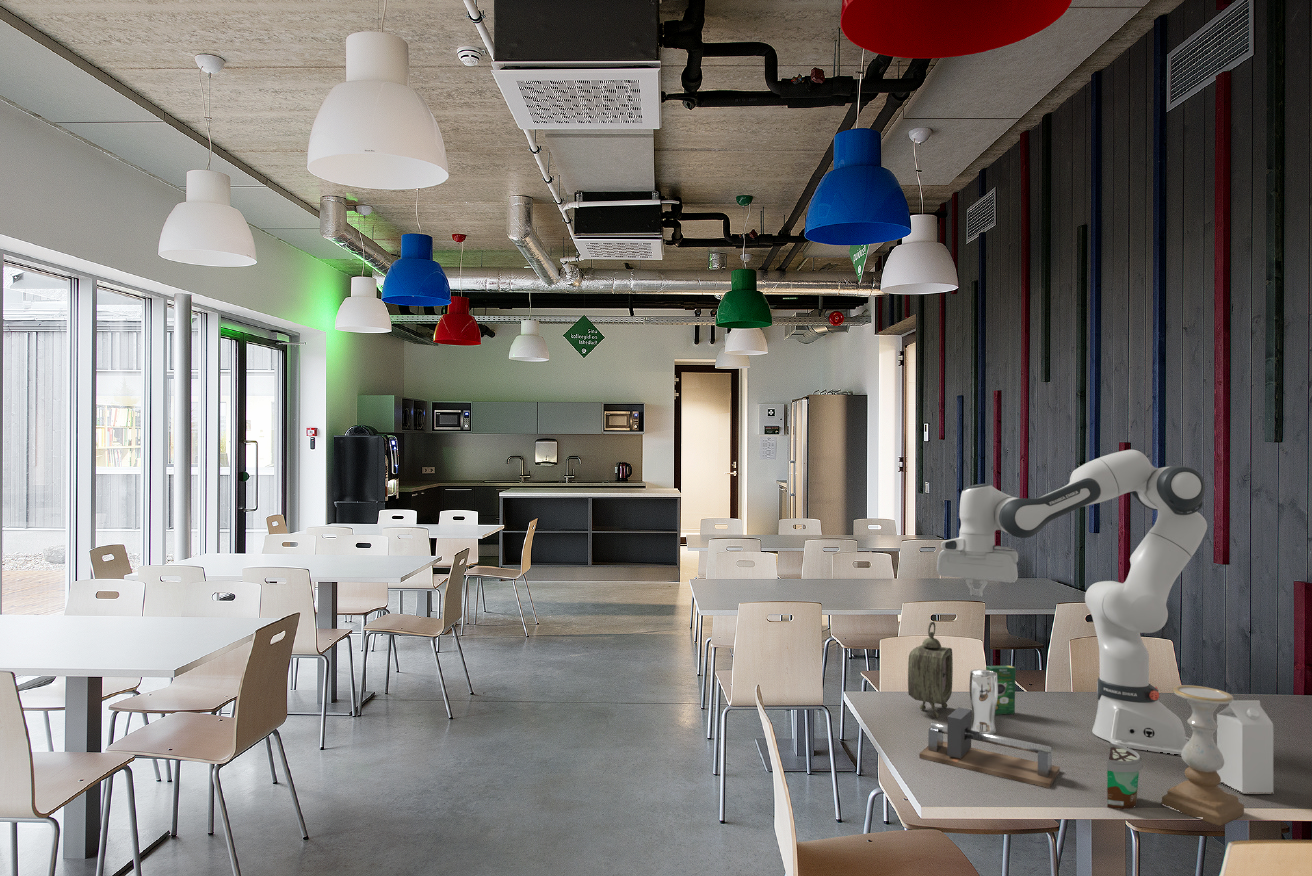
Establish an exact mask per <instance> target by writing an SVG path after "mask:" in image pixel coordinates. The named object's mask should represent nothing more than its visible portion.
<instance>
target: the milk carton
mask: <svg viewBox="0 0 1312 876" xmlns="http://www.w3.org/2000/svg"><path fill="white" fill-rule="evenodd" d="M1216 723H1217V725H1218V728H1216V746H1217V747H1218V749H1219V750H1220V752H1221V753H1222V755H1223V758H1224V766H1223V767H1222V768H1221V769H1220V770H1218V771H1216V772H1217V773H1218V774H1219V776H1220V778H1221V782H1224V783H1225V784H1227V785H1228V786H1231V787H1232V788H1234V789H1237V790H1239V791H1241V792H1243V793H1247V792H1248V793H1249V792H1273V793H1274V723H1273V722H1272V720H1271V718H1270V717H1269V716H1268V714H1267V713H1266V711H1265V710H1264V709H1263V707H1262V706H1261V701H1260V700H1259V699H1257V700H1253V699H1251V700H1247V699H1246V700H1233V701H1232V702H1231V703H1228V706H1226V707H1225V708H1224V709H1222V710H1221V711H1219V712H1218V713H1217V714H1216Z"/></svg>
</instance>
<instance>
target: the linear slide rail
mask: <svg viewBox="0 0 1312 876" xmlns="http://www.w3.org/2000/svg"><path fill="white" fill-rule="evenodd" d="M944 734H946V735H947V734H948V724H943V723H938V722H934V721H932V722H931V723H930V727H929V728H928V733H927V736H928V737H927V738H928V742H927V745H928V750H929V751H934V752H938V751H939V750H940V749H941V748H942V747H943V741H944ZM965 738H968V739H971V741H972V740H973V741H978V742H982V743H988V744H993V745H996V746H1001V747H1005V748H1011V749H1015V750H1021V751H1025V752H1029V753H1030V752H1031V753H1034V754H1037V762H1038V775H1039V776H1043V777H1048V776H1049V774H1050V773H1051V771H1052V765H1053V748H1052V747H1051V746H1049V745H1046V744H1045V745H1044V744H1040V743H1034V742H1030V741H1024V740H1020V739H1015V738H1010V737H1006V736H1001V735H996V734H987V733H982V732H977V731H973V730H968V729H965Z"/></svg>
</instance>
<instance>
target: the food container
mask: <svg viewBox="0 0 1312 876" xmlns="http://www.w3.org/2000/svg"><path fill="white" fill-rule="evenodd" d="M1106 761H1107V763H1106V771H1107V772H1106V774H1107V777H1106V779H1107V780H1106V781H1107V782H1106V783H1107V784H1106V785H1107V786H1106V788H1107V789H1106V790H1107V792H1106V793H1107V794H1106V795H1107V796H1106V799H1107V806H1106V807H1107V808H1108V809H1115V810H1131V809H1134V808H1135V807H1136V806H1137V801H1138V800H1137V799H1138V789H1139V788H1138V787H1139V774H1140V771H1142V770H1143V769H1144V765H1143V762H1142V758H1141V757H1140V754H1139V753H1138V752H1137V751H1135V750H1133V749H1132V748H1127V747H1124V746H1120V745H1116V744H1112V743H1111V742H1110V743H1109V755H1108V758H1107V759H1106ZM1134 806H1135V807H1134ZM1133 807H1134V808H1133Z"/></svg>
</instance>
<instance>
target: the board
mask: <svg viewBox="0 0 1312 876" xmlns="http://www.w3.org/2000/svg"><path fill="white" fill-rule="evenodd" d="M918 755H919V757H918V758H920V759H923V760H927V761H930V762H936V763H940V764H944V765H948V766H953V767H957V768H962V769H965V770H969V771H973V772H979V773H983V774H986V773H987V774H988V775H991V776H996V777H999V778H1002V779H1003V778H1004V779H1007V780H1013V781H1017V782H1022V783H1024V782H1025V784H1029V785H1033V784H1035V785H1034V786H1038V787H1041V786H1043V787H1042V788H1046V789H1051V787H1050V786H1052V785H1053V783H1054V782H1055V779H1056V778H1057V776H1058V774H1059V773H1060V769H1061V768H1060V766H1058V765H1053V764H1052V771H1051V773H1050V774H1049V776H1048V777H1043V776H1039V775H1038V761H1035V760H1029V759H1026V758H1022V757H1016V756H1012V755H1007V754H1003V753H998V752H994V751H989V750H985V749H979V748H976V747H971V748H970V749H969V750H968V751H967V752H966V753H965V754H964V756H963V757H962V758H961V759H960V758H956V757H952V756H947V741H944V740H943V747H942V748H941V749H940V750H939V751H938V752H934V751H929V750H928V746H926V747H925V748H924V749H923V750H922V751H921V752H920V753H919V754H918ZM987 774H986V775H987Z"/></svg>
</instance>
